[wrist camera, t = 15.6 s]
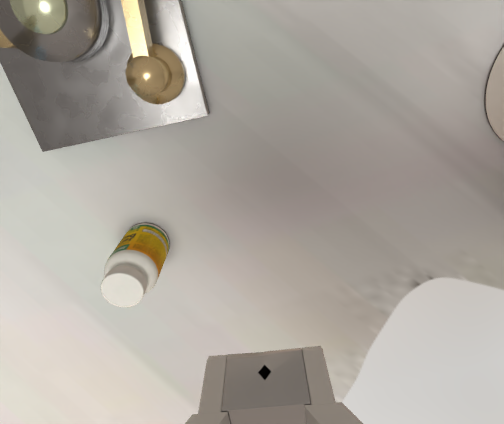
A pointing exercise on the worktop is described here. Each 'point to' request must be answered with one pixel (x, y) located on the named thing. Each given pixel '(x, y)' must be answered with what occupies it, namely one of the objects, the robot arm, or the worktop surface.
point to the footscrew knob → (150, 60)
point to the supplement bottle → (135, 265)
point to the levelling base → (90, 68)
